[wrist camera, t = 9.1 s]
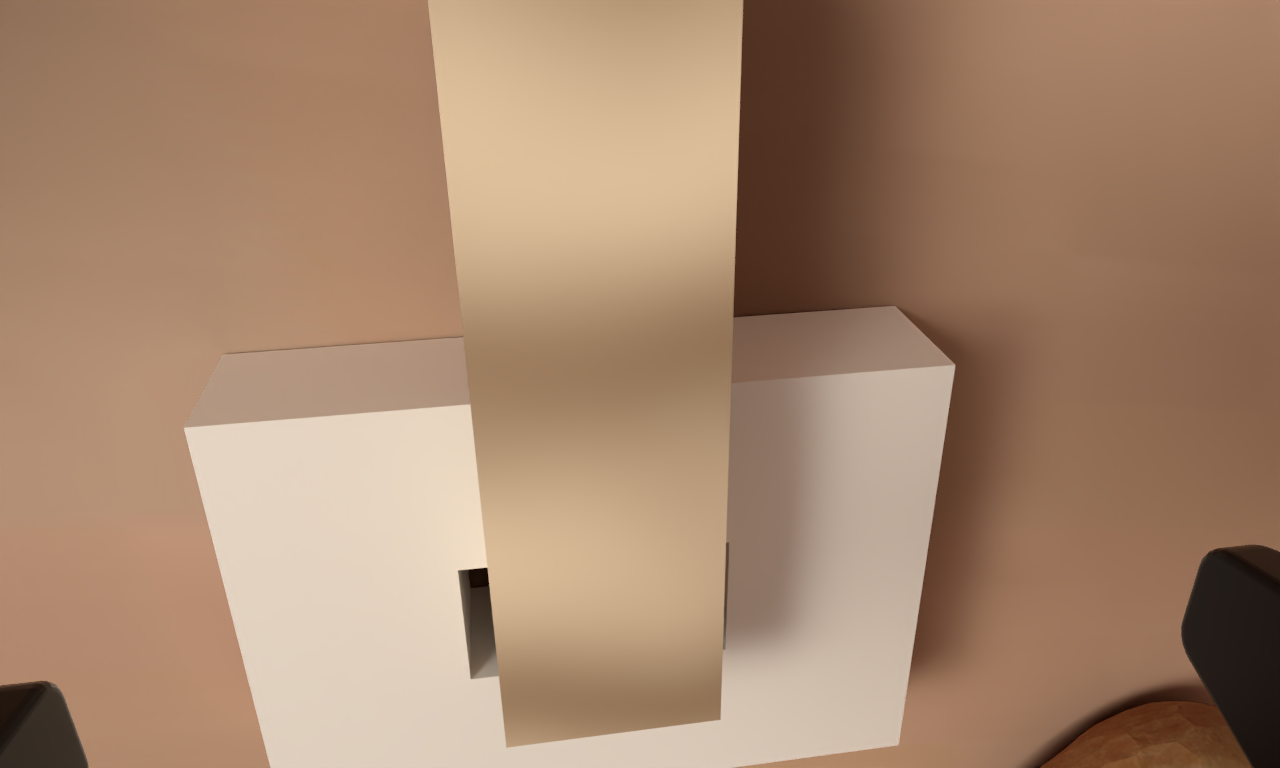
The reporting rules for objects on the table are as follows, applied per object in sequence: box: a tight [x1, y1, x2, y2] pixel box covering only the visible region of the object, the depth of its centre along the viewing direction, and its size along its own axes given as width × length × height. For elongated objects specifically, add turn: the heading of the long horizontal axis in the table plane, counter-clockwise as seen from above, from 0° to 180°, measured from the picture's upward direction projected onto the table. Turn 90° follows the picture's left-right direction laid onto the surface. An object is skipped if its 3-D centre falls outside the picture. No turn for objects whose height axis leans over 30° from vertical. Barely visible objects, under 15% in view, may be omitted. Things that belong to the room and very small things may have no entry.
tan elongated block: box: [428, 0, 743, 748], centre depth 17 cm, size 14×4×6 cm, turn 1°
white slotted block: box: [184, 306, 955, 768], centre depth 21 cm, size 10×14×3 cm
